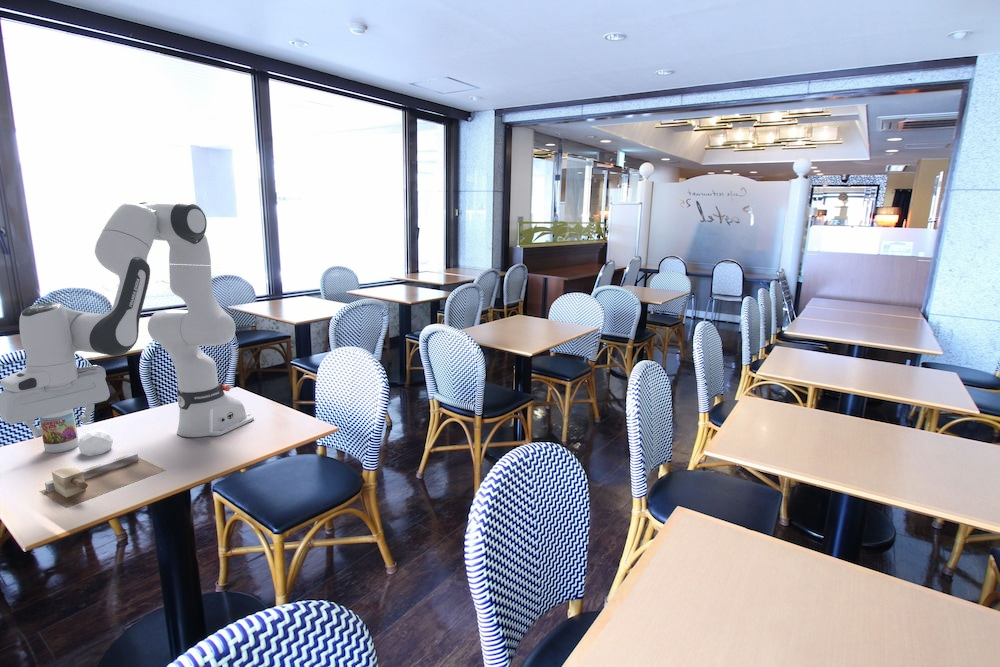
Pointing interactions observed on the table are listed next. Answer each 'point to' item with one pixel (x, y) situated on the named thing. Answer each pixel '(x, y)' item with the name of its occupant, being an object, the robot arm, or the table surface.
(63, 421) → the milk bottle
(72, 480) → the wooden mallet
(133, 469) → the walnut board
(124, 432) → the table surface
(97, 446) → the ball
